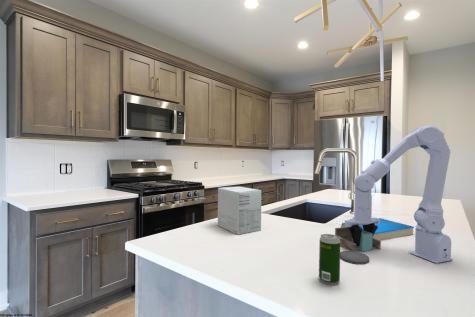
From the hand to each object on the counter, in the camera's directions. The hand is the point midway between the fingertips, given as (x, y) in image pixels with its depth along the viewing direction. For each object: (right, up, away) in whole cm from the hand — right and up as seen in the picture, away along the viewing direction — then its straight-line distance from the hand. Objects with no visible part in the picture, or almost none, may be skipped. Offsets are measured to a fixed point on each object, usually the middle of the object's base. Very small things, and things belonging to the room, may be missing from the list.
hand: (362, 244), depth 97 cm
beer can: (-21, -2, -25) cm, 33 cm away
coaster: (-7, -2, -10) cm, 12 cm away
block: (0, -1, 0) cm, 1 cm away
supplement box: (-45, -1, +25) cm, 51 cm away
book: (+16, -2, +20) cm, 26 cm away
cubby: (-1, -1, +2) cm, 2 cm away
